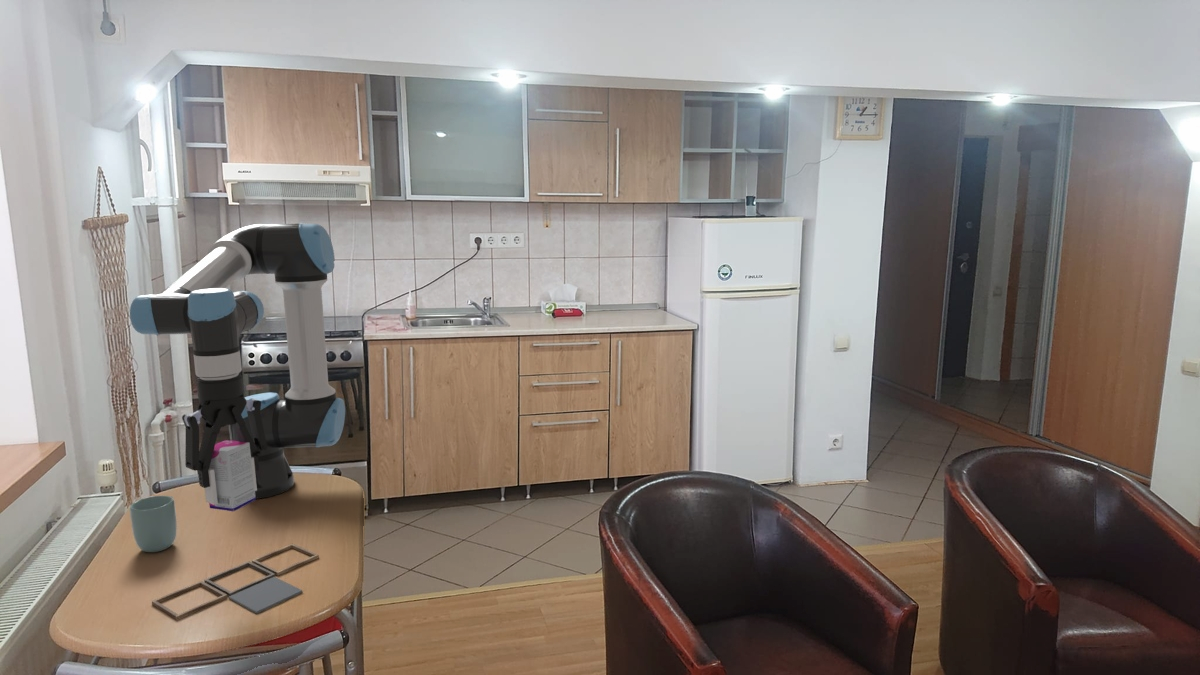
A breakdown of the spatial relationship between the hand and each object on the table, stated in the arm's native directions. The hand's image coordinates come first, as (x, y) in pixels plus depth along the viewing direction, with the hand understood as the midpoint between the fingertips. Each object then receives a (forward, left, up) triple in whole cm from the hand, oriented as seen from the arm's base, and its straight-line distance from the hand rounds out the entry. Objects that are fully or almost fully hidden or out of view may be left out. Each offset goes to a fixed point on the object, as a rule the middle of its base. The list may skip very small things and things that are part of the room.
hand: (232, 495), depth 145 cm
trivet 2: (-9, 0, -17) cm, 19 cm away
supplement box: (0, 0, -2) cm, 2 cm away
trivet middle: (0, 0, -17) cm, 17 cm away
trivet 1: (+10, 0, -17) cm, 19 cm away
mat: (+1, +9, -17) cm, 19 cm away
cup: (+3, -27, -17) cm, 32 cm away
